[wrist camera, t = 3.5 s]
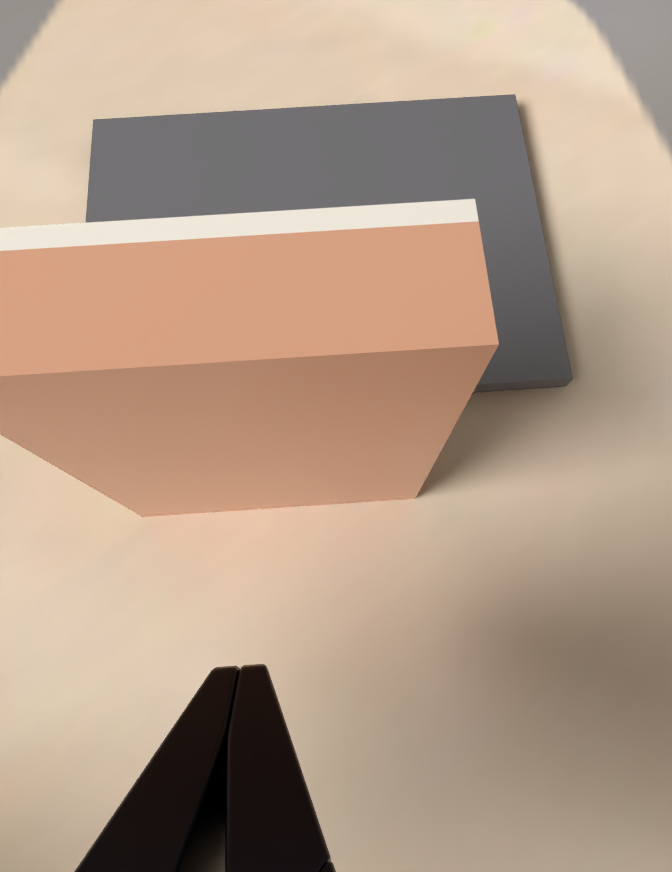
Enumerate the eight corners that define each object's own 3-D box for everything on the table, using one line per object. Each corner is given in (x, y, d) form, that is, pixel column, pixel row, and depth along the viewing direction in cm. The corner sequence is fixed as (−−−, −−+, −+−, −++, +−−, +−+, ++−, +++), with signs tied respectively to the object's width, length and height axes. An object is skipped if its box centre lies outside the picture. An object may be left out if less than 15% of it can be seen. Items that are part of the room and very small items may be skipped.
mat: (565, 386, 19) (572, 378, 18) (80, 417, 19) (71, 410, 18) (510, 108, 22) (515, 94, 22) (100, 133, 22) (93, 119, 21)
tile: (415, 498, 18) (498, 344, 8) (142, 516, 18) (-91, 382, 8) (407, 421, 19) (475, 198, 9) (144, 438, 18) (-66, 231, 9)
